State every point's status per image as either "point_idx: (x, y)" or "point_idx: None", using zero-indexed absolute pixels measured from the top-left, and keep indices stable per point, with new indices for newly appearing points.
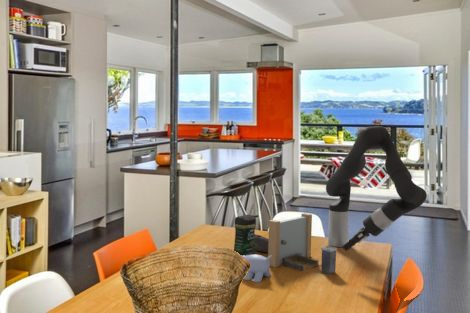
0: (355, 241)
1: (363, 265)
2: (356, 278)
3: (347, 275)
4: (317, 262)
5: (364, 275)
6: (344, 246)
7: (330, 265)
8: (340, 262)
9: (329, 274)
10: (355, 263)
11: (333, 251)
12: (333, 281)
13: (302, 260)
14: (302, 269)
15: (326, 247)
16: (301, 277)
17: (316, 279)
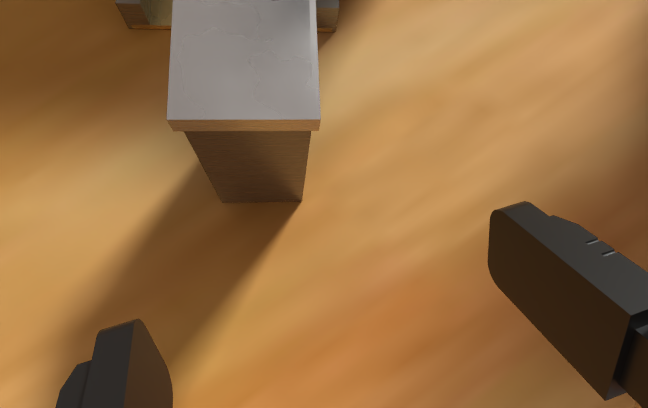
0: (552, 311)
1: (617, 243)
2: (316, 400)
3: (318, 305)
4: (324, 16)
5: (432, 397)
6: (63, 395)
7: (221, 180)
8: (519, 94)
9: (222, 202)
10: (598, 176)
11: (253, 128)
12: (105, 321)
13: None
14: (140, 22)
15: (234, 22)
16: (4, 108)
17: (46, 205)
